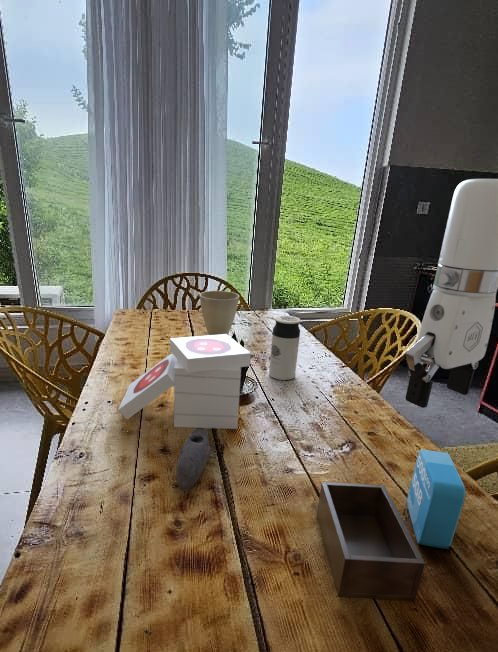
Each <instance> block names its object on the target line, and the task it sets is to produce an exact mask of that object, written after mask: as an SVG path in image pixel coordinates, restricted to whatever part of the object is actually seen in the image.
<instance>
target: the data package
mask: <svg viewBox="0 0 498 652" xmlns="http://www.w3.org/2000/svg"><path fill="white" fill-rule="evenodd" d="M452 459H453V458H452V457H451V455H450V454H449V453H448V452H443V451H437V450H436V451H435V450H429V449H420V450H419V451H418V453H417V457H416V461H415V465H414V468H413V469H414V470H413V472H412V473H413V474H412V477H411V481H410V486H409V490H408V494H407V500H406V503H407V509H408V512H409V516H410V521H411V524H412V528H413V533H414V536H415V539H416V542H417V544H418V545H421V546H427V547H432V548H437V549H441V550H449V549H450V547H451V546H452V543H453V540H454V537H455V533H456V529H457V526H458V524H459V520H460V517H461V512H462V510H463V507H464V503H465V500H466V486H465V483H464V482H463V479H462V478H461V475H460V474H459V472H458V470H457V468H456V465H455V463H454V461H453V460H452Z"/></svg>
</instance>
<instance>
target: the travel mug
mask: <svg viewBox="0 0 498 652" xmlns="http://www.w3.org/2000/svg"><path fill="white" fill-rule="evenodd" d="M274 320H275V325H274V326H273V328H272V336H271V347H270V356H269V370H268V375H269V376H270V377H271V378H273V379H275V380H280V381H287V380H288V381H289V380H292V379H294V378H296V371H297V363H298V362H297V361H298V355H299V345H300V336H301V329H300V326H299V325H300V323H301V318H299V317H298V316H293V315H278V316H275V317H274Z"/></svg>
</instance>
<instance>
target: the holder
mask: <svg viewBox="0 0 498 652" xmlns="http://www.w3.org/2000/svg"><path fill="white" fill-rule="evenodd" d="M319 490H320V491H319V496H318V503H317V509H316V516H317V520H318V521H317V522H318V525H319V528H320V531H321V537H322V540H323V543H324V547H325V552H326V555H327V559H328V563H329V567H330V570H331V575H332V579H333V582H334V586H335V590H336V594H337V597H339V598H356V599H372V600H373V599H375V600H391V601H408V602H415V601H416V598H417V595H418V591H419V587H420V585H421V580H422V576H423V573H424V569H425V566H426V562H425V560H424V559H423V557H422V554H421V553H420V551H419V548H418V547H417V545H416V543H415V541H414V540H413V538H412V536H411V534H410V531H409V530H408V528H407V526H406V524H405V522H404V519H403V518H402V516H401V514H400V513H399V510H398V509H397V508H398V507H397V506H396V504H395V503H394V501H393V499H392V497H391V495H390V493H389V491H388V489H387V487H386V485H385V484H368V483H367V484H366V483H350V482H348V483H347V482H331V481H330V482H329V481H321V483H320V489H319Z"/></svg>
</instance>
